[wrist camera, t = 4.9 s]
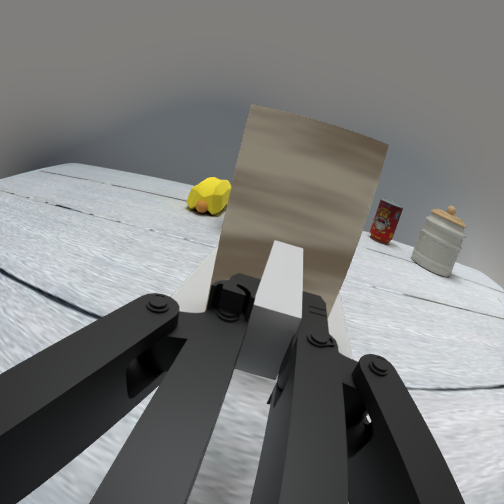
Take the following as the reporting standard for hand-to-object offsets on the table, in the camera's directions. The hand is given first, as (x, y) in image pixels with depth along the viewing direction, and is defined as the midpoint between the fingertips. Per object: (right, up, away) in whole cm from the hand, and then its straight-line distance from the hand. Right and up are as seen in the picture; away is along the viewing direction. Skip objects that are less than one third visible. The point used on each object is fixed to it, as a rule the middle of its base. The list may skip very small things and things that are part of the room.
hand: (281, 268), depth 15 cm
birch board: (-1, -6, +11) cm, 13 cm away
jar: (+47, -3, +52) cm, 70 cm away
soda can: (+35, +4, +62) cm, 72 cm away
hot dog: (-11, +11, +50) cm, 52 cm away
